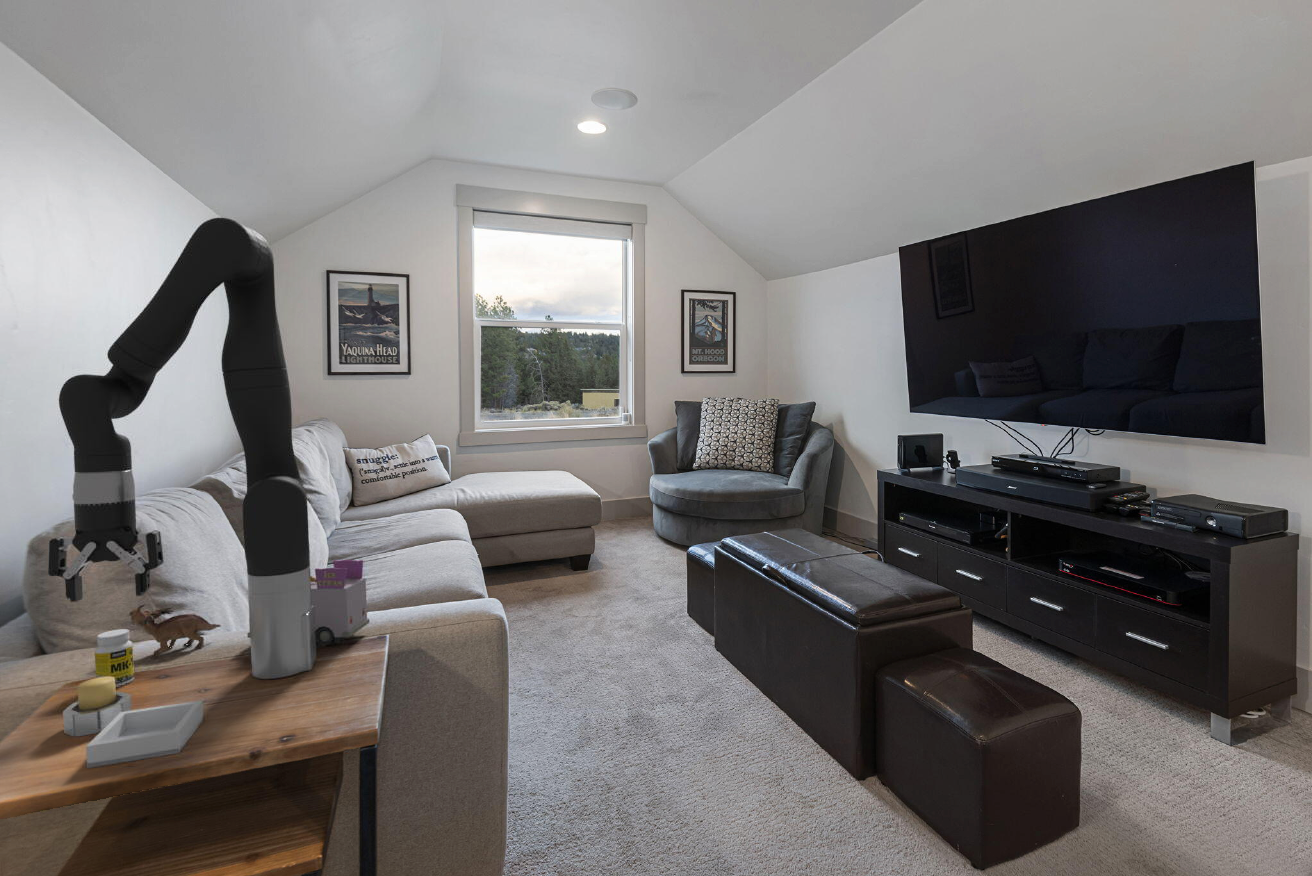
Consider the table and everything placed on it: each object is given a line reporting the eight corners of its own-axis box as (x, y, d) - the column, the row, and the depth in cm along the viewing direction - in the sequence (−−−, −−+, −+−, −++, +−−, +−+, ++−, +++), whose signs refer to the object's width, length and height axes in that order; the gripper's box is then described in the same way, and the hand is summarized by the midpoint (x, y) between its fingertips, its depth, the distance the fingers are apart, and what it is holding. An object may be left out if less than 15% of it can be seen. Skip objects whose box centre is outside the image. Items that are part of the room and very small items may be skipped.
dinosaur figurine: (129, 664, 112) (126, 612, 112) (131, 654, 117) (128, 604, 117) (222, 645, 121) (220, 597, 120) (221, 637, 125) (218, 590, 125)
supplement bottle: (112, 690, 101) (109, 639, 101) (88, 688, 102) (85, 637, 102) (142, 678, 106) (139, 628, 106) (119, 676, 107) (116, 627, 107)
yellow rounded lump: (121, 694, 93) (120, 674, 93) (108, 706, 89) (107, 685, 89) (87, 699, 92) (86, 679, 91) (72, 711, 88) (71, 690, 88)
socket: (138, 708, 95) (136, 689, 95) (117, 730, 89) (116, 709, 88) (81, 717, 93) (80, 697, 92) (55, 739, 86) (54, 718, 86)
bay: (203, 719, 91) (202, 700, 91) (179, 752, 82) (178, 731, 82) (121, 731, 88) (120, 712, 88) (87, 768, 79) (86, 746, 79)
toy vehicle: (276, 631, 128) (273, 558, 127) (371, 631, 127) (368, 557, 126) (245, 649, 119) (241, 569, 118) (347, 648, 118) (344, 568, 117)
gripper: (166, 493, 109) (170, 587, 109) (61, 498, 104) (66, 596, 104) (149, 499, 102) (153, 599, 102) (35, 504, 97) (40, 609, 97)
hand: (109, 597), depth 103 cm, fingers open, 8 cm apart
